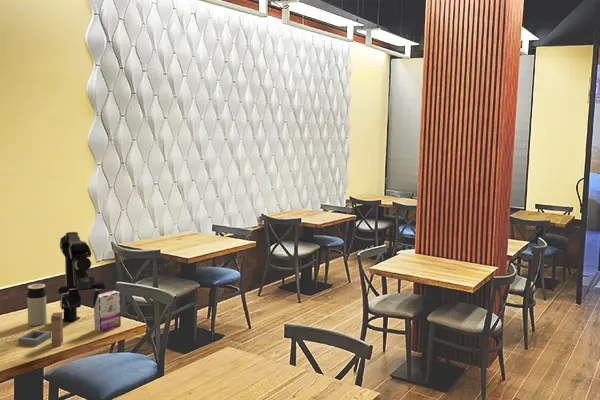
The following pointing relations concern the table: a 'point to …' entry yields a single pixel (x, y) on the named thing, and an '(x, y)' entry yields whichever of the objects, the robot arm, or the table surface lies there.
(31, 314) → the travel mug
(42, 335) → the slotted holder
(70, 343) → the table surface
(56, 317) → the walnut post
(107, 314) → the candy bar box
